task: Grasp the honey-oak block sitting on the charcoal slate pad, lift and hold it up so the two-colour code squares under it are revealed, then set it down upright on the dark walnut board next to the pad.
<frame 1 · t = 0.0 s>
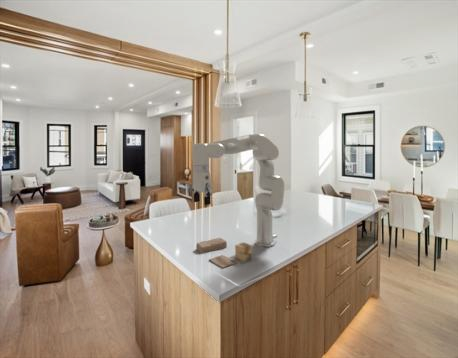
hand: (201, 203, 128), 31 cm above the worktop, tool pointing down, fingers open, 9 cm apart
walnut board: (222, 263, 131), on the worktop
oak block: (243, 257, 136), point 1 cm above the worktop, touching code pad
brick: (211, 249, 151), on the worktop
code pad: (243, 258, 136), on the worktop
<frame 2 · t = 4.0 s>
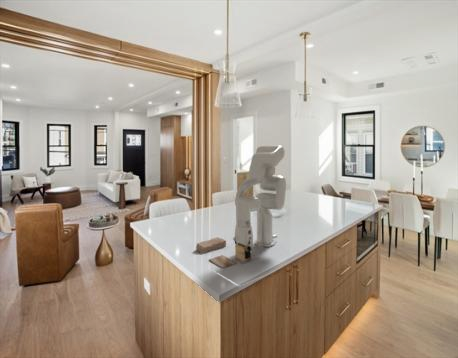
hand: (243, 255, 136), 2 cm above the worktop, tool pointing down, fingers closed on oak block, 6 cm apart
oak block: (243, 257, 136), point 1 cm above the worktop, touching code pad, gripper
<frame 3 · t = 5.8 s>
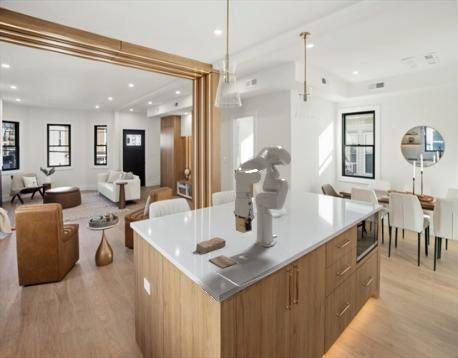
hand: (243, 228, 135), 17 cm above the worktop, tool pointing down, fingers closed on oak block, 6 cm apart
oak block: (243, 230, 135), point 15 cm above the worktop, touching gripper
everything else where it was.
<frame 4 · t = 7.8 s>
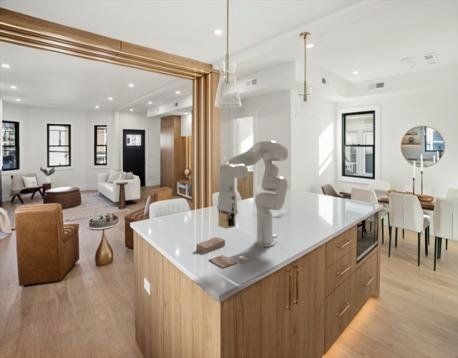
hand: (226, 224, 130), 20 cm above the worktop, tool pointing down, fingers closed on oak block, 6 cm apart
oak block: (226, 226, 130), point 19 cm above the worktop, touching gripper
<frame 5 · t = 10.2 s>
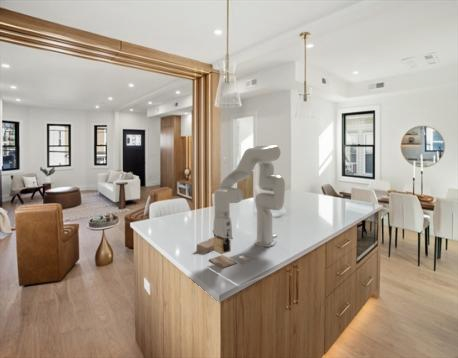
hand: (222, 248, 131), 8 cm above the worktop, tool pointing down, fingers closed on oak block, 6 cm apart
oak block: (222, 250, 131), point 6 cm above the worktop, touching gripper
when the fingers open (4 cm above the worktop, at t = 11.9 s): oak block drops 1 cm, resting on walnut board.
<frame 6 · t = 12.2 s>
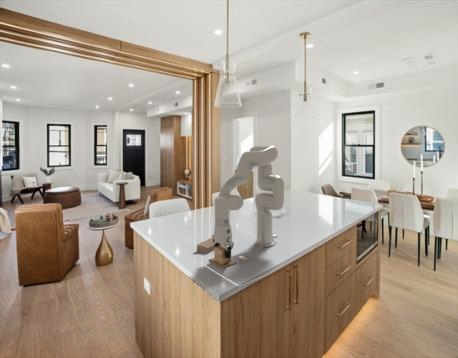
hand: (222, 254, 131), 4 cm above the worktop, tool pointing down, fingers open, 8 cm apart
oak block: (222, 260, 131), point 1 cm above the worktop, touching walnut board
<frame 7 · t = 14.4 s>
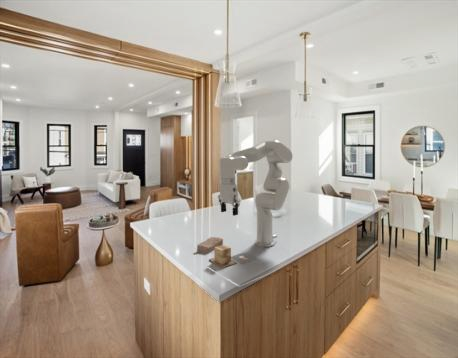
hand: (229, 213, 136), 24 cm above the worktop, tool pointing down, fingers open, 9 cm apart
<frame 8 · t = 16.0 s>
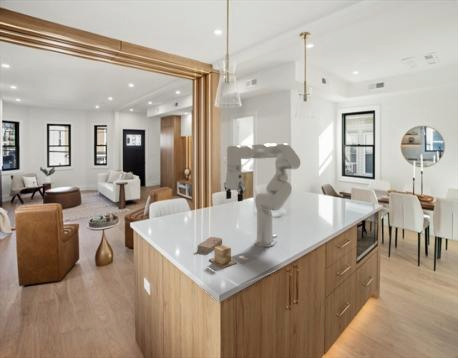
hand: (234, 199, 141), 30 cm above the worktop, tool pointing down, fingers open, 9 cm apart
at the end: oak block inside the target area on the walnut board (0.1 cm from its centre), point 1.2 cm above the walnut board's base; oak block tilted 0°; the gripper is holding nothing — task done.
